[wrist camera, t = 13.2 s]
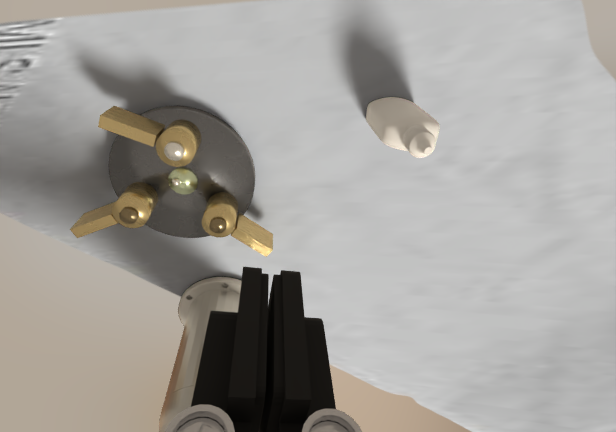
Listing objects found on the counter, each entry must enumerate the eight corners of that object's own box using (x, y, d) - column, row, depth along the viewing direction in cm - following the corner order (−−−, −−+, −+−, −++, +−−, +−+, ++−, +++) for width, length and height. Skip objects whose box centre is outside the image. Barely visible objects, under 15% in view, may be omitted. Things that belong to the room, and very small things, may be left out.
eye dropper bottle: (397, 140, 43) (435, 186, 32) (358, 116, 41) (386, 156, 31) (421, 107, 41) (470, 145, 31) (382, 81, 39) (419, 111, 29)
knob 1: (205, 127, 38) (197, 142, 35) (196, 157, 40) (187, 174, 36) (117, 93, 36) (98, 105, 32) (111, 126, 38) (92, 141, 34)
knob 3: (201, 208, 43) (194, 229, 39) (218, 186, 42) (212, 206, 38) (261, 244, 47) (260, 267, 43) (278, 225, 46) (278, 247, 42)
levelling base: (282, 164, 43) (282, 173, 41) (207, 251, 49) (204, 263, 47) (158, 73, 37) (151, 77, 35) (89, 184, 43) (79, 194, 40)
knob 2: (147, 177, 41) (133, 197, 37) (164, 203, 43) (153, 224, 39) (78, 203, 42) (58, 224, 38) (98, 227, 44) (81, 250, 40)
